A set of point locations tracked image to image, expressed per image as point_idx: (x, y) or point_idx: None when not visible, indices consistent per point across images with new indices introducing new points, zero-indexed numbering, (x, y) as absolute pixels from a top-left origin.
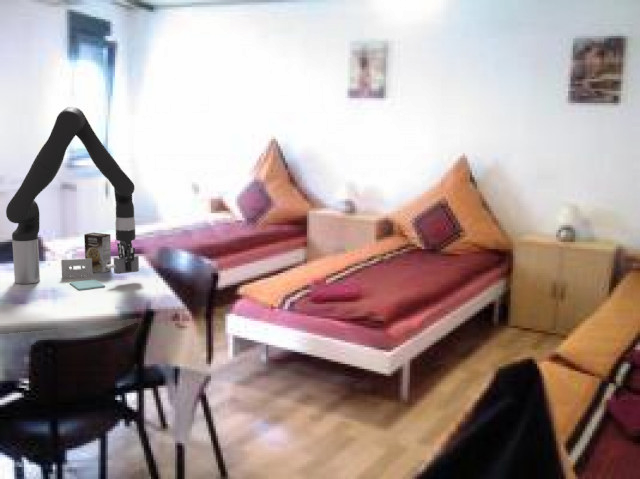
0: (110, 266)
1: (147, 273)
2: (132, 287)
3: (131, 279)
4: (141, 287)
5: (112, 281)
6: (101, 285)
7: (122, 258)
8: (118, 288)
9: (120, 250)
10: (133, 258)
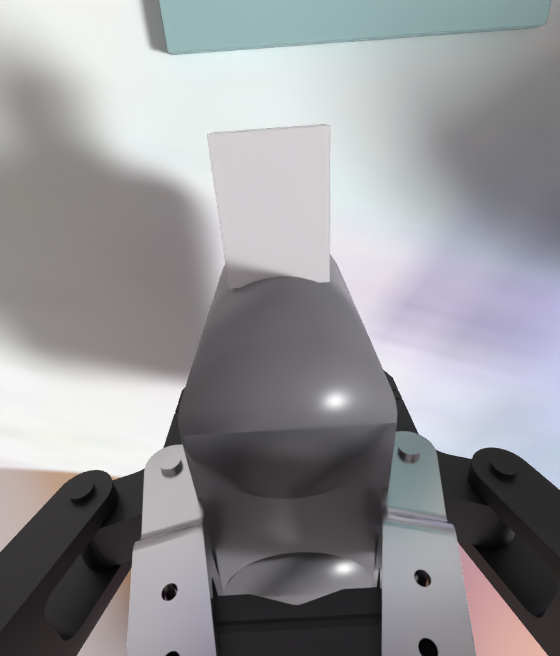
0: (218, 188)
1: None
2: (83, 304)
3: None
4: (66, 360)
5: (382, 210)
6: (187, 8)
7: (206, 467)
8: (72, 183)
9: (410, 630)
10: (63, 580)
